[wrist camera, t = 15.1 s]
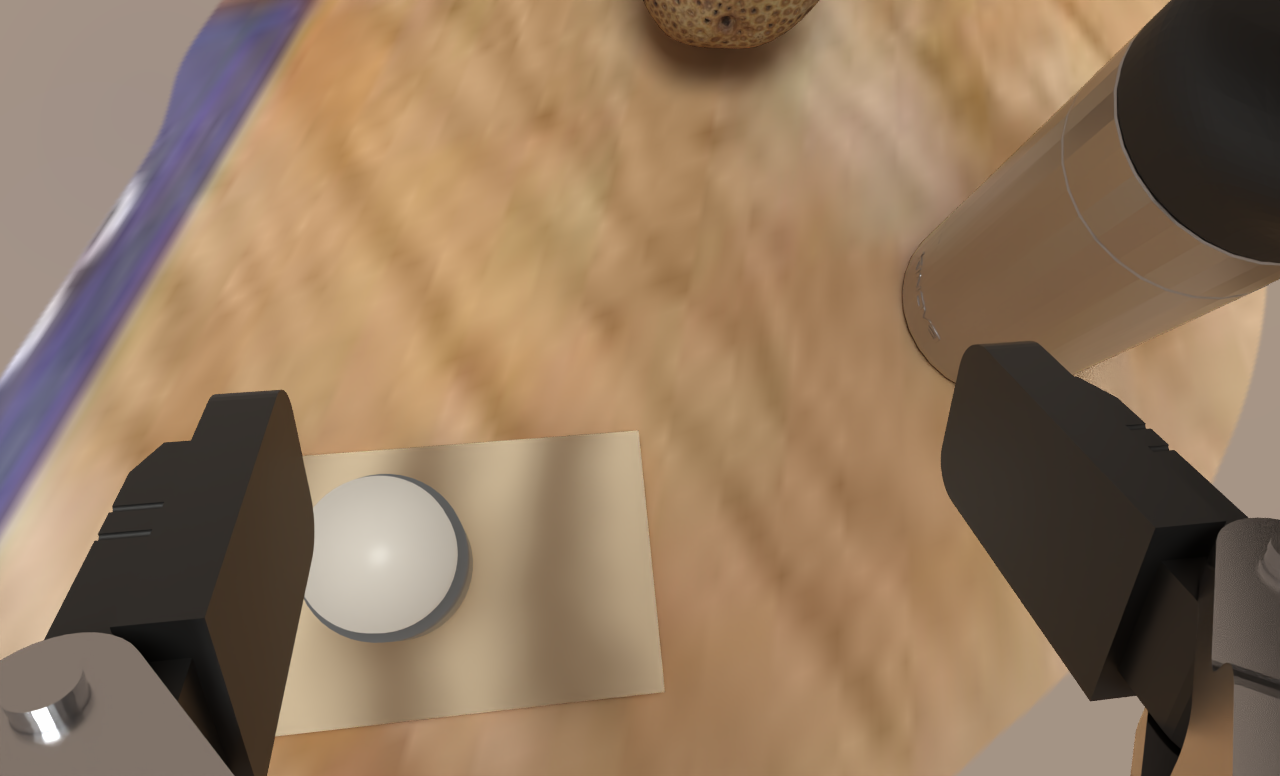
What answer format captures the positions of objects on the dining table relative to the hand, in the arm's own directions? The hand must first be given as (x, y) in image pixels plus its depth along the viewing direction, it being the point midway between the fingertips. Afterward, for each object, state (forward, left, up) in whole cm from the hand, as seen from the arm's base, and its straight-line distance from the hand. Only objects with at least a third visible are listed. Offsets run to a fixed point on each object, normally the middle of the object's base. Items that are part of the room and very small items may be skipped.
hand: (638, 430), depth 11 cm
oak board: (+6, 0, -31) cm, 31 cm away
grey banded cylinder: (+6, -1, -30) cm, 30 cm away
